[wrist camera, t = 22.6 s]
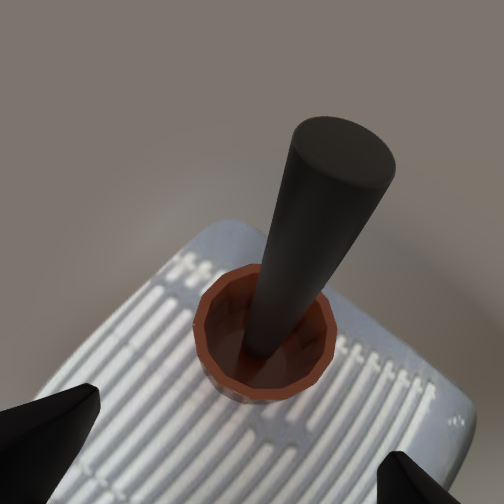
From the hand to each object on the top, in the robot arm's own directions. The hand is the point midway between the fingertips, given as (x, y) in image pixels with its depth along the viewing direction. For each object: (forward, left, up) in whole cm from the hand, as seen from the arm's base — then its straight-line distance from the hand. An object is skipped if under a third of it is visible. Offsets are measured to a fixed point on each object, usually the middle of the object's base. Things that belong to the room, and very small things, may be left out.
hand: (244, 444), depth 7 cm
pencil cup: (+5, +1, -8) cm, 10 cm away
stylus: (+5, +1, -8) cm, 9 cm away
